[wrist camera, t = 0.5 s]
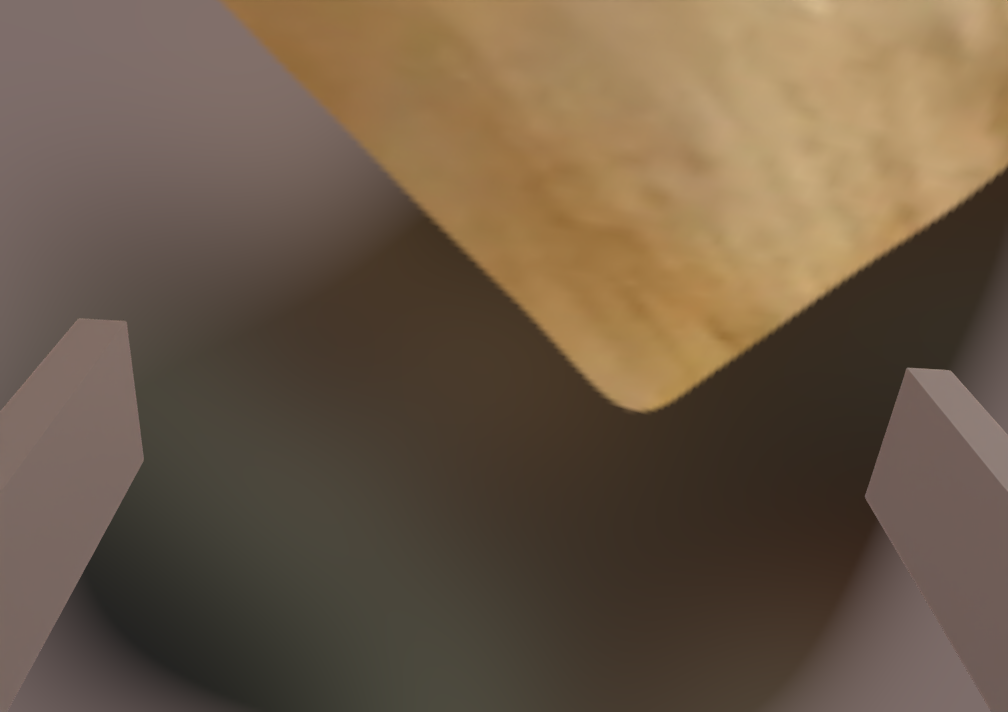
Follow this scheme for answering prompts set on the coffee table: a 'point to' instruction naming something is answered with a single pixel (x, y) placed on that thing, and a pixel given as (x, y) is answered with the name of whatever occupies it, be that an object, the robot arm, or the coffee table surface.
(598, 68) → the coffee table surface
